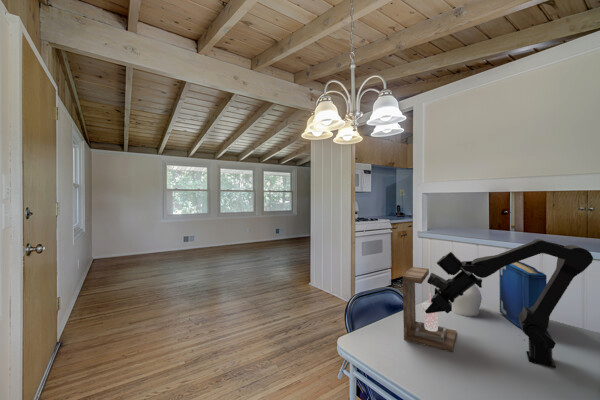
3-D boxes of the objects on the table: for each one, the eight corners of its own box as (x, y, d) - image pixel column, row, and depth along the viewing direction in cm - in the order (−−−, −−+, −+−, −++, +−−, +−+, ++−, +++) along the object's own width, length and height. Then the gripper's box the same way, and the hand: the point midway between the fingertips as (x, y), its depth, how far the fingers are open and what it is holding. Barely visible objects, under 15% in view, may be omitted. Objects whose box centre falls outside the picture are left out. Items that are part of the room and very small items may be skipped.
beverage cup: (425, 323, 108) (424, 288, 108) (441, 327, 104) (440, 291, 104) (420, 329, 103) (419, 292, 103) (437, 334, 99) (436, 296, 99)
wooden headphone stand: (452, 352, 92) (451, 282, 92) (403, 339, 101) (402, 275, 101) (456, 333, 105) (455, 271, 106) (413, 323, 114) (412, 266, 115)
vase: (476, 306, 131) (475, 265, 131) (486, 318, 117) (485, 273, 117) (443, 303, 135) (442, 263, 135) (450, 315, 122) (449, 271, 122)
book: (551, 339, 100) (549, 271, 100) (529, 337, 101) (527, 271, 101) (516, 314, 121) (515, 259, 121) (499, 313, 122) (497, 258, 123)
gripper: (442, 262, 110) (413, 286, 115) (439, 273, 93) (406, 300, 99) (465, 284, 105) (435, 307, 111) (466, 299, 89) (431, 326, 95)
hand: (426, 309), depth 104 cm, fingers closed on beverage cup, 6 cm apart
